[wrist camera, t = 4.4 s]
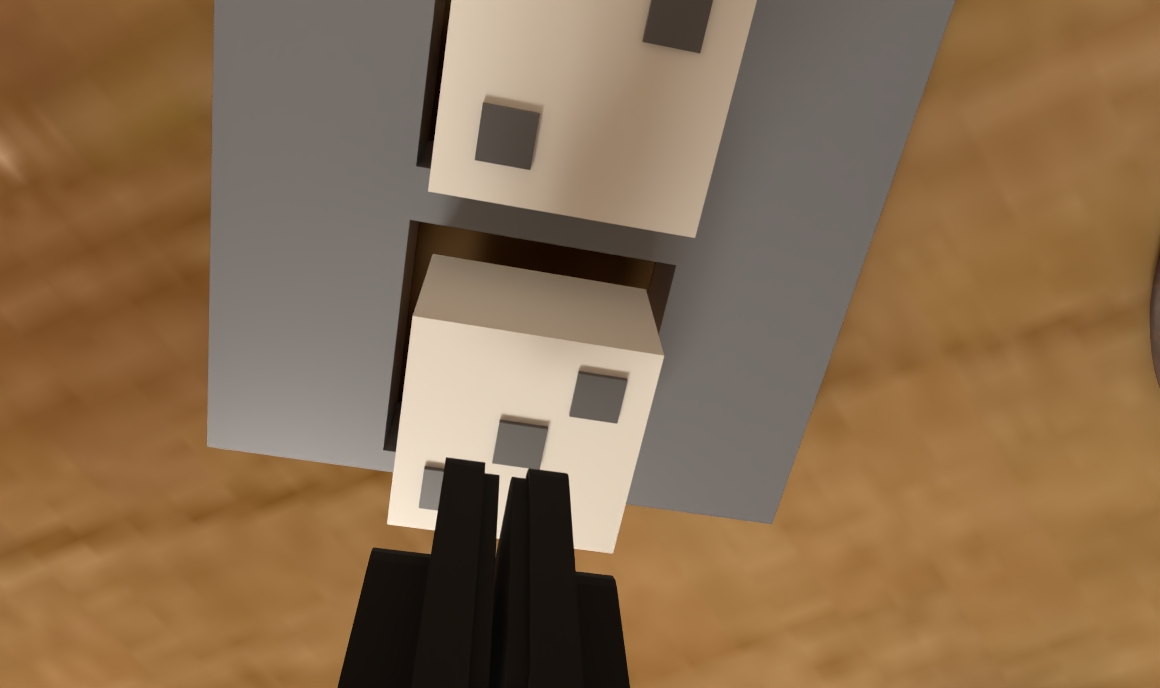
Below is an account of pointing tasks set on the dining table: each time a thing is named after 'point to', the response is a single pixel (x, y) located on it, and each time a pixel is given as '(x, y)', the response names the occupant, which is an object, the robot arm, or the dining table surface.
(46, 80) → the dining table surface
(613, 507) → the three-pip tile
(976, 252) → the dining table surface
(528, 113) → the tile
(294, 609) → the dining table surface
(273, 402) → the panel
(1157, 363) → the plant pot
